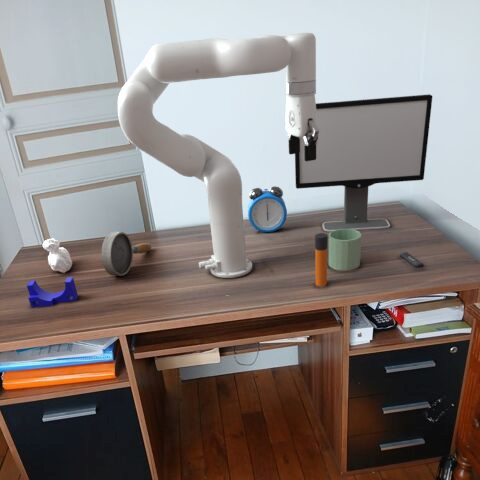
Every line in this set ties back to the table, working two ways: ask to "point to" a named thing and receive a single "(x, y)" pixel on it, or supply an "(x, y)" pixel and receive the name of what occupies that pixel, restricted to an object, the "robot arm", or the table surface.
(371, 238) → the table surface
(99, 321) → the table surface
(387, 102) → the computer monitor
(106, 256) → the frying pan
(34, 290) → the blue cradle stand
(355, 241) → the pen holder
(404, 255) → the usb stick
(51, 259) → the bust
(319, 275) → the marker
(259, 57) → the robot arm
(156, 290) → the table surface
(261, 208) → the alarm clock
